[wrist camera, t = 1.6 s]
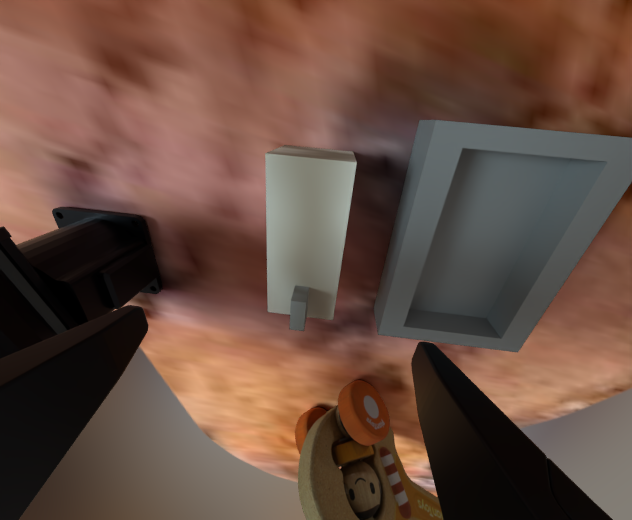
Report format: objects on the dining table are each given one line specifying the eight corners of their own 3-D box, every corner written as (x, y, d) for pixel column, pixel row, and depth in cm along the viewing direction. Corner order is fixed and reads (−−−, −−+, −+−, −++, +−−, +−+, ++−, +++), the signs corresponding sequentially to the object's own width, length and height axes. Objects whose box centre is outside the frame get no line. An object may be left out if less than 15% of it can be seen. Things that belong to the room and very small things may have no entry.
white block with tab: (282, 273, 19) (261, 328, 14) (285, 144, 15) (256, 157, 10) (334, 279, 19) (332, 337, 14) (353, 151, 15) (358, 167, 10)
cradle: (373, 308, 20) (377, 334, 18) (419, 120, 14) (436, 120, 11) (495, 323, 20) (517, 352, 17) (601, 136, 13) (659, 140, 11)
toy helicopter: (342, 363, 23) (341, 618, 11) (479, 455, 28) (579, 699, 16) (289, 400, 27) (246, 626, 15) (420, 476, 32) (467, 691, 20)
